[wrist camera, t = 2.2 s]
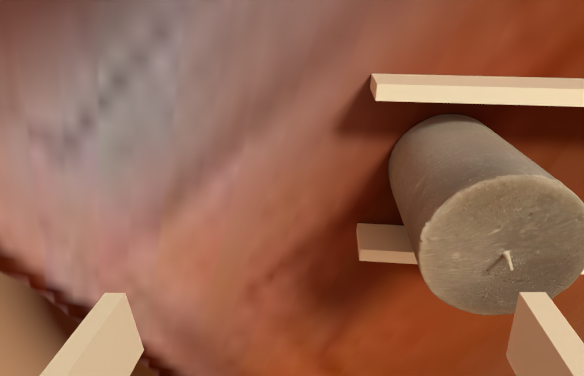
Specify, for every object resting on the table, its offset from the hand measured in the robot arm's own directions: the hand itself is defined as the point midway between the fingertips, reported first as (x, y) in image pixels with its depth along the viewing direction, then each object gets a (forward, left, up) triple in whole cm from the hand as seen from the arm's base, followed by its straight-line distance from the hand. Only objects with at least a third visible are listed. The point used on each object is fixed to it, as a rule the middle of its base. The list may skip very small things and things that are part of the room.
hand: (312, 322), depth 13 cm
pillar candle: (+11, -3, -23) cm, 26 cm away
